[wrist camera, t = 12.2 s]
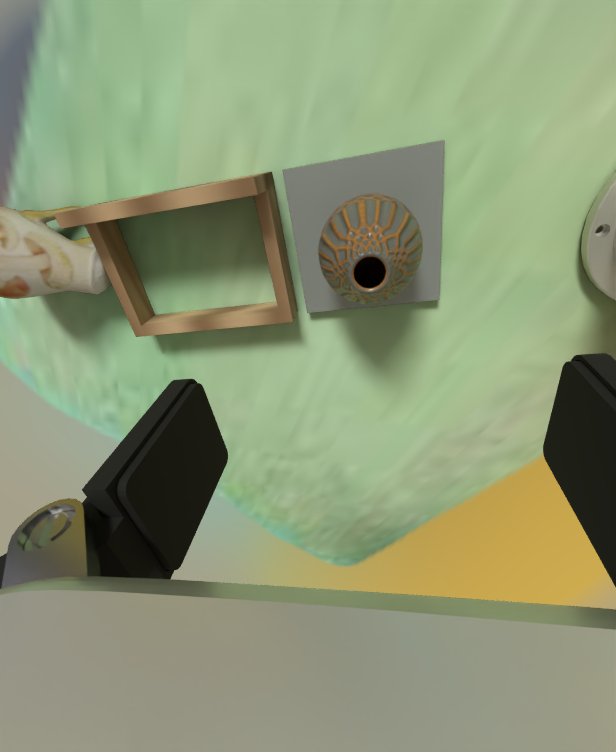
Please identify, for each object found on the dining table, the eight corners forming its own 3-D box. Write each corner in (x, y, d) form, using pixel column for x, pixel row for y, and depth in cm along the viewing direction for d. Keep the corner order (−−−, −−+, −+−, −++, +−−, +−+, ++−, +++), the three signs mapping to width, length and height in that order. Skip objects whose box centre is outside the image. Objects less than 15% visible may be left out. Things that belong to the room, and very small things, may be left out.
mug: (134, 303, 35) (18, 348, 28) (76, 249, 37) (-43, 279, 31) (126, 233, 29) (-21, 269, 23) (58, 174, 31) (-91, 192, 25)
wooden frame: (271, 171, 26) (253, 177, 22) (297, 310, 32) (287, 335, 28) (97, 203, 30) (53, 213, 25) (149, 325, 35) (120, 349, 31)
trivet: (442, 140, 24) (444, 140, 23) (437, 296, 30) (439, 299, 29) (284, 169, 26) (282, 169, 26) (308, 309, 32) (307, 312, 31)
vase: (336, 291, 30) (326, 339, 23) (313, 204, 27) (293, 227, 19) (421, 271, 28) (440, 316, 21) (408, 174, 25) (426, 188, 17)
